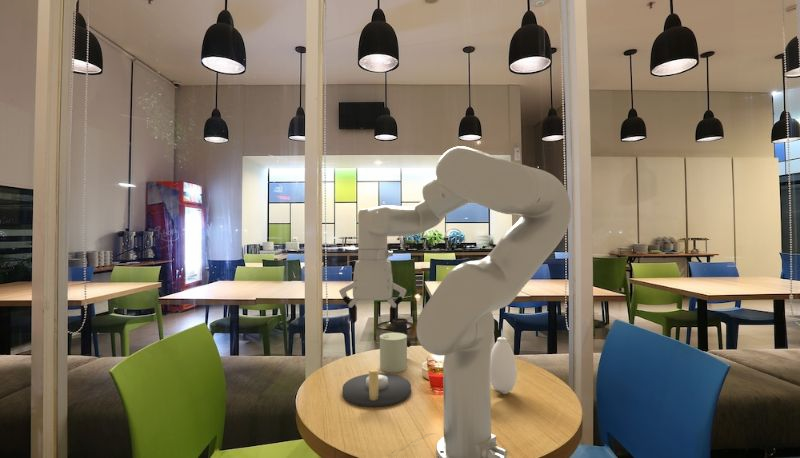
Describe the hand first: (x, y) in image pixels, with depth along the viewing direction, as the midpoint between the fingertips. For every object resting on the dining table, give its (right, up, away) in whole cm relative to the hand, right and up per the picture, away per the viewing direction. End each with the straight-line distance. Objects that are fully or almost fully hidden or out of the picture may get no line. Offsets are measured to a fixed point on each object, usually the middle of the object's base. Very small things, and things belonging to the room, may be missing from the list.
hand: (373, 322), depth 96 cm
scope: (+6, -23, +40) cm, 47 cm away
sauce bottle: (+36, -22, +9) cm, 43 cm away
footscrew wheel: (+1, -21, +8) cm, 22 cm away
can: (+5, -23, +26) cm, 35 cm away
